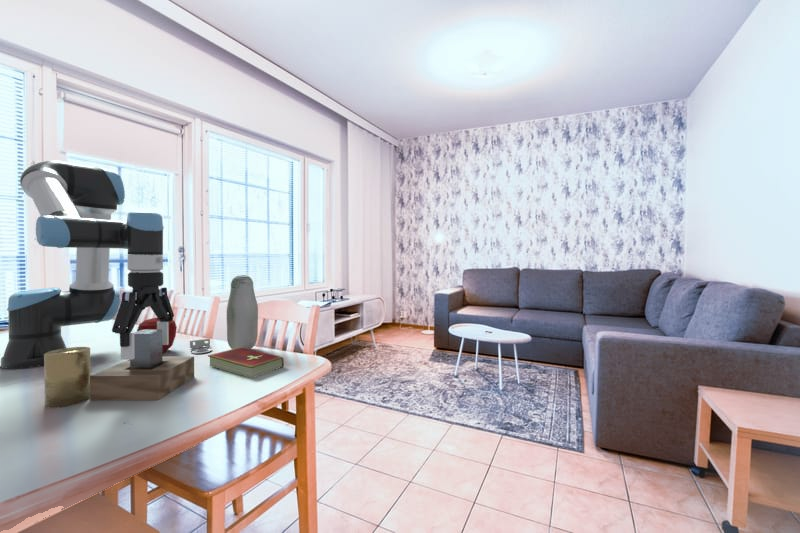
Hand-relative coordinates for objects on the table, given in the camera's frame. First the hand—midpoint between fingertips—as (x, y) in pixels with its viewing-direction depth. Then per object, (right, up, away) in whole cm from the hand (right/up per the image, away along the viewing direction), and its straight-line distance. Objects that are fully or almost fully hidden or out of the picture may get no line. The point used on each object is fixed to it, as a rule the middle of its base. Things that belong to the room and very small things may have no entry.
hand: (146, 351), depth 92 cm
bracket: (-6, -9, +36) cm, 38 cm away
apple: (-20, -8, +32) cm, 39 cm away
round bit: (-13, -10, -8) cm, 18 cm away
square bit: (0, -9, 0) cm, 9 cm away
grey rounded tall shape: (+9, -9, +36) cm, 38 cm away
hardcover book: (+18, -10, +18) cm, 28 cm away
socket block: (0, -10, 0) cm, 10 cm away
